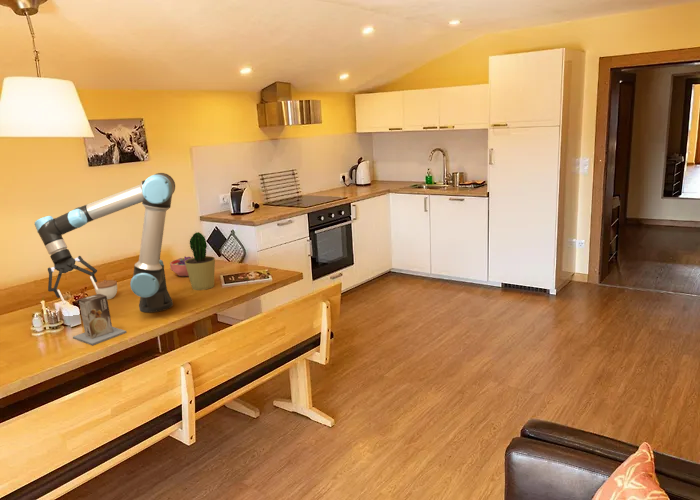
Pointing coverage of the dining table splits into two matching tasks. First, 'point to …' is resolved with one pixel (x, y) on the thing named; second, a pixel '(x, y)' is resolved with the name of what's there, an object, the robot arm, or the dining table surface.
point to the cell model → (179, 266)
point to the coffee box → (95, 315)
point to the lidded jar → (107, 288)
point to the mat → (99, 339)
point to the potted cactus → (200, 264)
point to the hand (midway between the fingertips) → (81, 296)
